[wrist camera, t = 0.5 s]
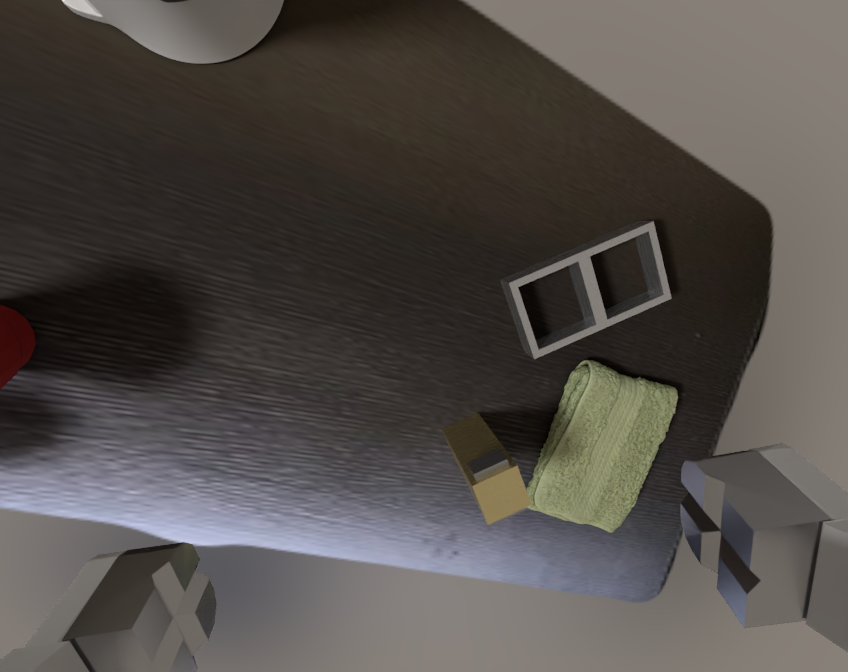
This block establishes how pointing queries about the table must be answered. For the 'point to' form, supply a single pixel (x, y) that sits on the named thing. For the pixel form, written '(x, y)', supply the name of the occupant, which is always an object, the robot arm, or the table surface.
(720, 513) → the robot arm
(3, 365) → the plastic cup
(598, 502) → the washcloth
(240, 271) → the table surface
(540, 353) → the rack frame
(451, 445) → the pale yellow rectangular block
